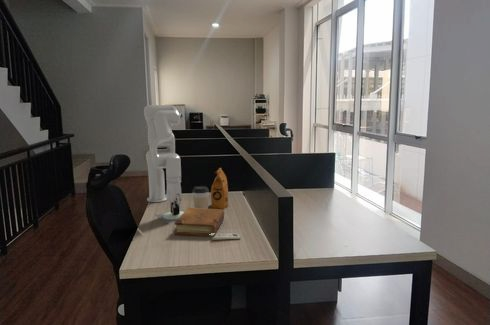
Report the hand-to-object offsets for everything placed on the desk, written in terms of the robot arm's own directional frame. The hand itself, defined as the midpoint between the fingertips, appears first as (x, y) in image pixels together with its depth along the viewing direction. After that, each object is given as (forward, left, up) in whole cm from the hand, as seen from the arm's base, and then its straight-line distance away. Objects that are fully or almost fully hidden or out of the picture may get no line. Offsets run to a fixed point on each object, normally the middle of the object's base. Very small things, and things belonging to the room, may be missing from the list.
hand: (175, 213), depth 195 cm
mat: (0, 0, -3) cm, 3 cm away
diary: (+21, +5, -2) cm, 22 cm away
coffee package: (-7, +30, -3) cm, 31 cm away
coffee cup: (0, +15, -3) cm, 15 cm away
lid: (0, 0, -2) cm, 2 cm away
